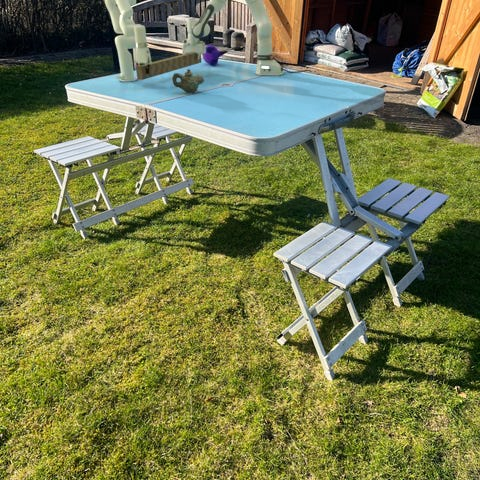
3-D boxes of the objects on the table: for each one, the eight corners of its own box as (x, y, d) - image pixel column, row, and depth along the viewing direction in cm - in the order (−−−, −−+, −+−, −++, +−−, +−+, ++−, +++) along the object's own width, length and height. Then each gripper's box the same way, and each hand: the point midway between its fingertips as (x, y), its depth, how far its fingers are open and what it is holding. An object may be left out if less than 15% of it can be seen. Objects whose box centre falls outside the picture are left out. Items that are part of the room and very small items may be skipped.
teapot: (202, 89, 310) (201, 66, 302) (206, 92, 300) (205, 69, 293) (172, 92, 304) (169, 68, 296) (175, 95, 295) (173, 71, 287)
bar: (142, 79, 311) (141, 66, 307) (137, 79, 313) (135, 66, 309) (201, 62, 369) (200, 51, 365) (196, 62, 371) (195, 51, 367)
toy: (212, 67, 383) (203, 66, 406) (231, 60, 386) (220, 59, 410) (206, 48, 375) (197, 48, 399) (225, 41, 378) (215, 41, 402)
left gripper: (154, 45, 305) (157, 73, 314) (135, 44, 312) (138, 71, 321) (148, 46, 299) (151, 75, 309) (128, 45, 306) (131, 73, 316)
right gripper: (206, 40, 355) (207, 59, 362) (185, 39, 364) (186, 57, 371) (202, 41, 351) (203, 60, 358) (180, 40, 359) (182, 59, 366)
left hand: (144, 73), depth 315 cm, fingers closed on bar, 4 cm apart
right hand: (194, 59), depth 364 cm, fingers closed on bar, 5 cm apart
